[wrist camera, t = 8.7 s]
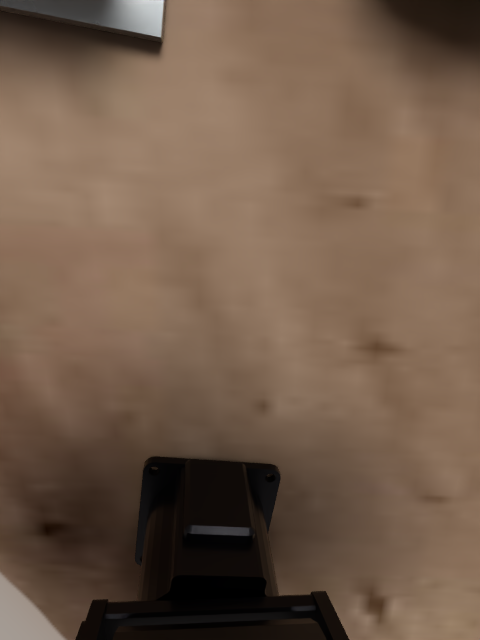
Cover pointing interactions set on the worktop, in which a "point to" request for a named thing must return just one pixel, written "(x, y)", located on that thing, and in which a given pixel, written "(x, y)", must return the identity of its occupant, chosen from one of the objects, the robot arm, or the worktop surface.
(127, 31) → the post
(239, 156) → the worktop surface
